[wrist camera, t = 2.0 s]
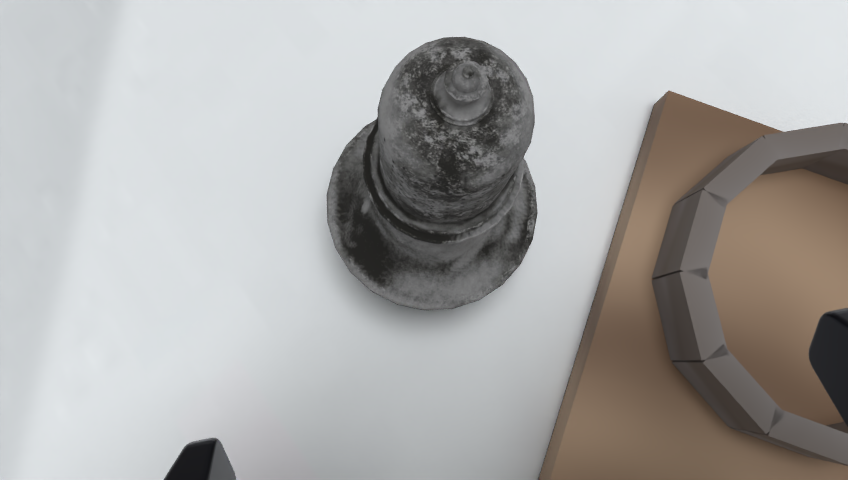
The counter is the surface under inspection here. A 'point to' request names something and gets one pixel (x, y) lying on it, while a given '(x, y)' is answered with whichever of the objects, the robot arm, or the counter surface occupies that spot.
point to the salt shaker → (439, 179)
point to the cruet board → (749, 300)
